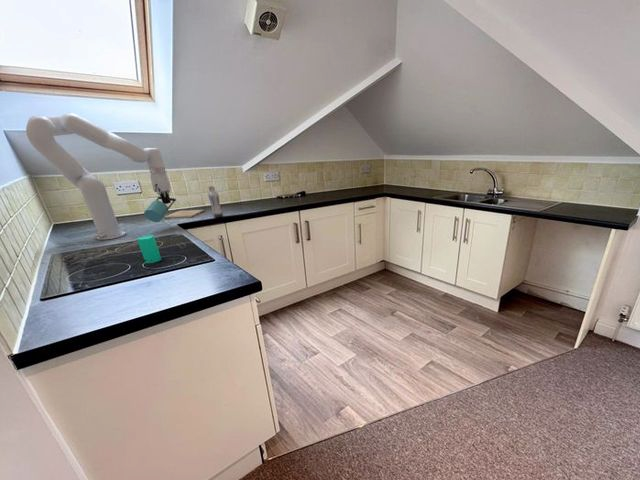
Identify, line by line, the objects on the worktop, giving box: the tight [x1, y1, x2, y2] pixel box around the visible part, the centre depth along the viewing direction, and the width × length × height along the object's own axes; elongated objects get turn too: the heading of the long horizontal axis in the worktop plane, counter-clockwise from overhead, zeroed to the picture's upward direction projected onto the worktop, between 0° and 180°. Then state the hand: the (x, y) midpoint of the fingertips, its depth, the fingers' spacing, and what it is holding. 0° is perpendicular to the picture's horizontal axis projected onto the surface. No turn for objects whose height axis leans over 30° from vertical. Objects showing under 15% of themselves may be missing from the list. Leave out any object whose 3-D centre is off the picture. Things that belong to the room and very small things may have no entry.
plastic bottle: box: [207, 186, 224, 219], centre depth 197 cm, size 6×7×20 cm
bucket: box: [143, 195, 177, 223], centre depth 172 cm, size 18×10×8 cm, turn 179°
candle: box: [136, 233, 162, 264], centre depth 125 cm, size 6×6×12 cm
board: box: [163, 209, 205, 219], centre depth 211 cm, size 20×18×1 cm
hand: (166, 203), depth 179 cm, fingers closed on bucket, 1 cm apart
